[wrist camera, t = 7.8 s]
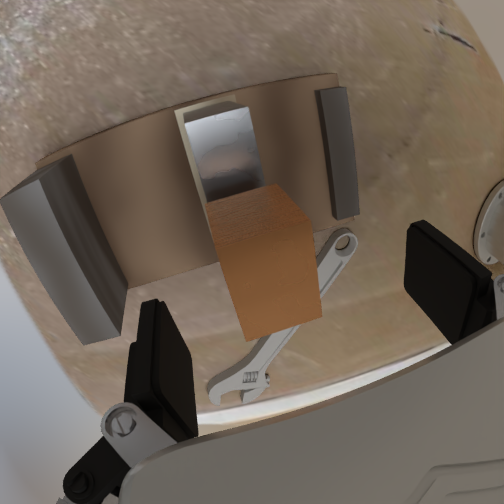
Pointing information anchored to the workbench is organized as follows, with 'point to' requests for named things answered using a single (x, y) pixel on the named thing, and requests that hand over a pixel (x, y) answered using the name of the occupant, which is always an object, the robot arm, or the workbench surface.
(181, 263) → the bench vise
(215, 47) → the workbench surface
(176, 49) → the workbench surface
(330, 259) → the adjustable wrench
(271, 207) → the sliding jaw
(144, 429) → the robot arm
